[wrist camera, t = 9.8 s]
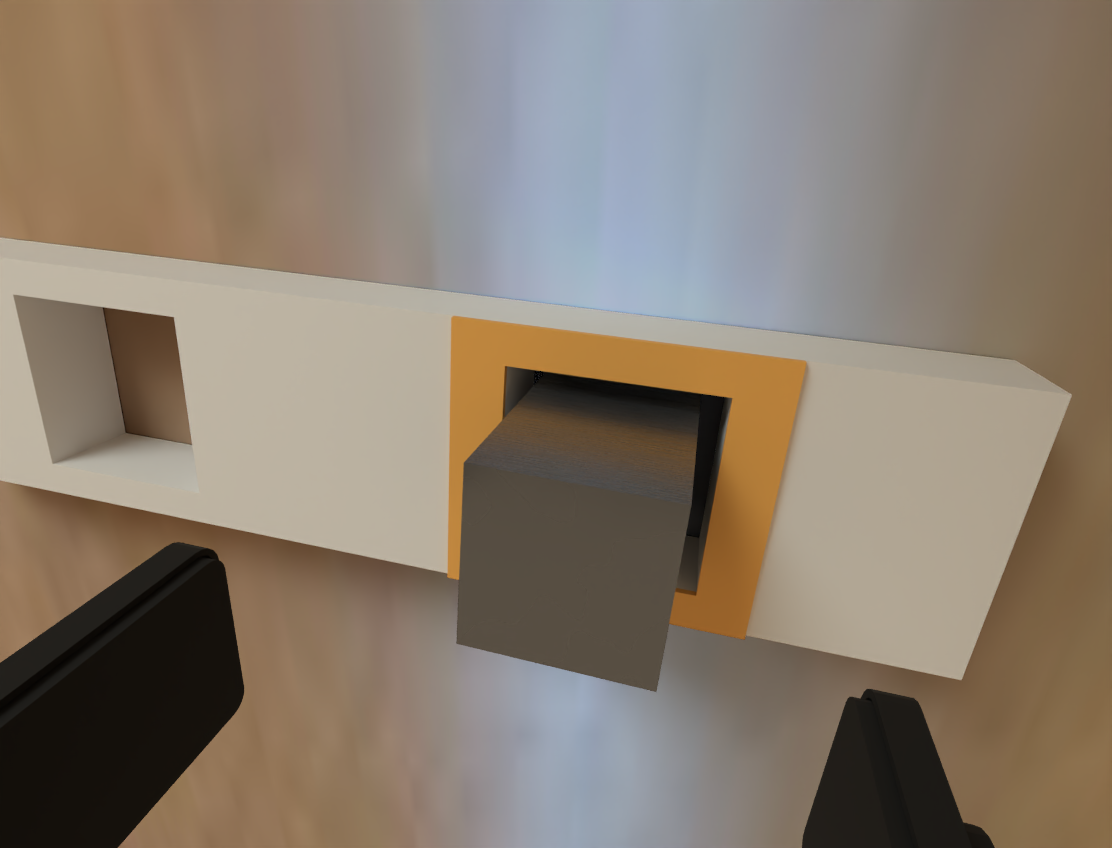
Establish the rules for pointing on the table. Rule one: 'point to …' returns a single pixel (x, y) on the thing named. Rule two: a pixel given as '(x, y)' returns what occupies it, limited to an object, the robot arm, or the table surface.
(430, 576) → the table surface
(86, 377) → the rail
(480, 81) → the table surface
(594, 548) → the steel block
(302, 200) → the table surface
